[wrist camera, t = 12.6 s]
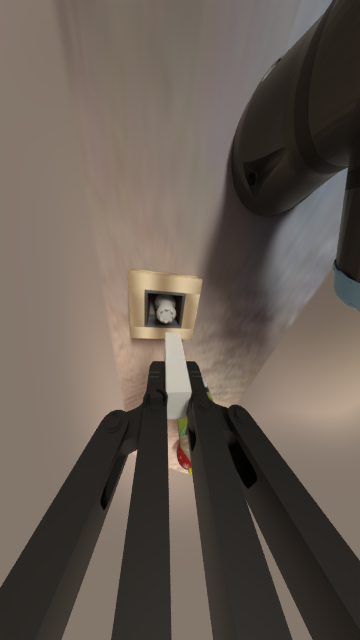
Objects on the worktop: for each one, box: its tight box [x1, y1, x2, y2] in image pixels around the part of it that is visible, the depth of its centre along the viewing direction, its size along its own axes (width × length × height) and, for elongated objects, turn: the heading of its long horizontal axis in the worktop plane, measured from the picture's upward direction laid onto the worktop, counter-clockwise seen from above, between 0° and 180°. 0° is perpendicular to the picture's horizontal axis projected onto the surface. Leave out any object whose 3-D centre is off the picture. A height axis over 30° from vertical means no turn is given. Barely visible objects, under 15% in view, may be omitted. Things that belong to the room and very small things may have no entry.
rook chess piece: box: [155, 294, 176, 323], centre depth 24 cm, size 4×4×8 cm
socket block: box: [128, 269, 203, 340], centre depth 25 cm, size 12×12×5 cm
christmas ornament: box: [177, 443, 192, 475], centre depth 50 cm, size 9×9×10 cm
